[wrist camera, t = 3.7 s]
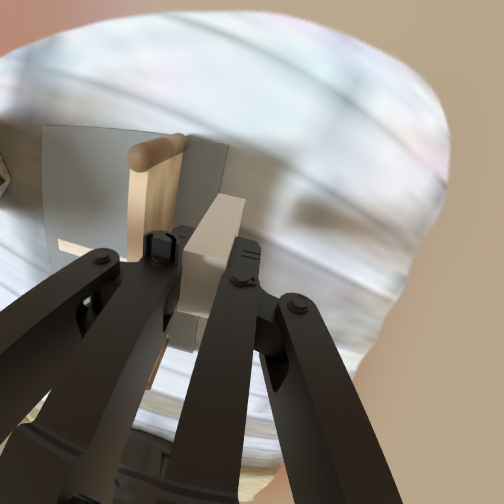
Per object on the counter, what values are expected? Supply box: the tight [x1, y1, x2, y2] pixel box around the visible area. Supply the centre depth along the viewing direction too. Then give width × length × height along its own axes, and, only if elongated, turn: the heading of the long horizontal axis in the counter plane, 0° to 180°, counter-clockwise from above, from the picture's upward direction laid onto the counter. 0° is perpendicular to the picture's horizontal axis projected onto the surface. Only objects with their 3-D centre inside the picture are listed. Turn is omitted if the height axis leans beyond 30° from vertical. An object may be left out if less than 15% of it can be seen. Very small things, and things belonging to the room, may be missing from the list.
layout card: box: [41, 126, 229, 353], centre depth 21 cm, size 20×16×1 cm
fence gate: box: [126, 133, 188, 262], centre depth 16 cm, size 10×1×6 cm, turn 167°
